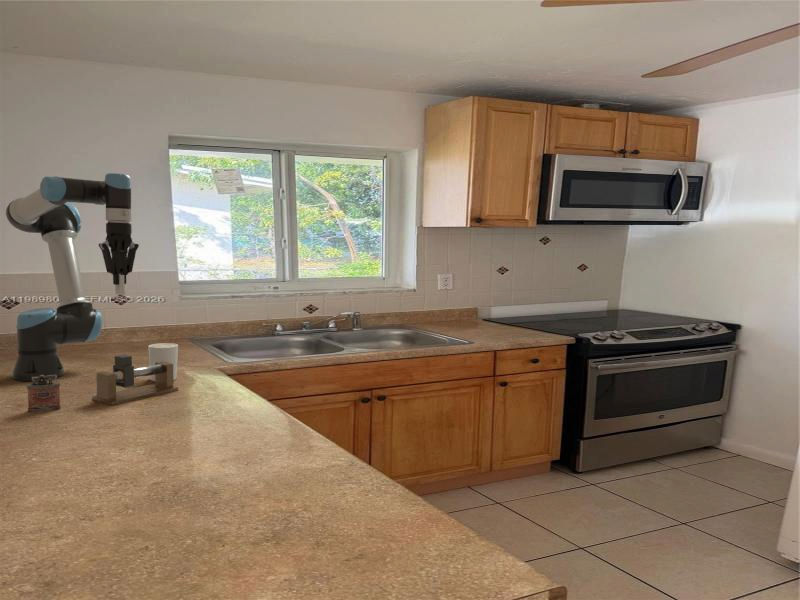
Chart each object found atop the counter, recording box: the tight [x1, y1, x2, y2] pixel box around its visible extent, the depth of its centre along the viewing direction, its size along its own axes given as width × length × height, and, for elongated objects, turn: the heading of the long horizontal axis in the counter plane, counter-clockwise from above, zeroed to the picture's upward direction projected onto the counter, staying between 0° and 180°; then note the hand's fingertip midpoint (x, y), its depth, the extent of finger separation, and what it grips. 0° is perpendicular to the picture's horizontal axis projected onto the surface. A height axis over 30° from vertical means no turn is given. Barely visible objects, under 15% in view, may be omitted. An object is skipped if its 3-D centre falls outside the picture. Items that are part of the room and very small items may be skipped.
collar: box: [112, 354, 135, 388], centre depth 185 cm, size 6×3×9 cm, turn 57°
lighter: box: [26, 375, 62, 413], centre depth 171 cm, size 8×3×10 cm, turn 117°
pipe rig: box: [91, 361, 179, 406], centre depth 189 cm, size 10×23×9 cm, turn 147°
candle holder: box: [147, 342, 179, 382], centre depth 211 cm, size 10×10×12 cm
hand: (120, 294), depth 198 cm, fingers closed
